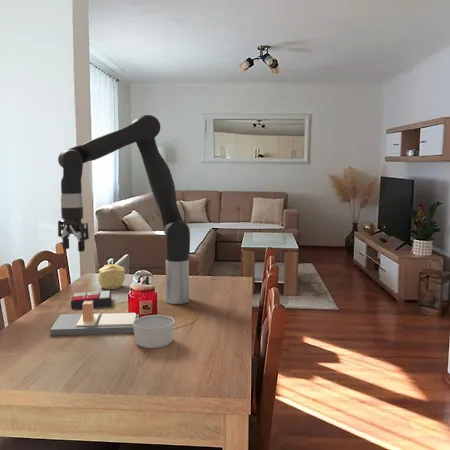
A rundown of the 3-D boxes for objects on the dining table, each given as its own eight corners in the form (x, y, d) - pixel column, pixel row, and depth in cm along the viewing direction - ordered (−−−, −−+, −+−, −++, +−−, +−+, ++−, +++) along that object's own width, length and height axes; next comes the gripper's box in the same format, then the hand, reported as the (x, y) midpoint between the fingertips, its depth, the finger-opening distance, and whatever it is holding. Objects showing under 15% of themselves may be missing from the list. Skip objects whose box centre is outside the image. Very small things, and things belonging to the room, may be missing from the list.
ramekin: (140, 353, 153) (140, 330, 152) (127, 339, 165) (127, 318, 164) (181, 345, 159) (181, 324, 158) (166, 332, 171) (165, 312, 170)
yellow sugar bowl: (100, 292, 220) (100, 267, 219) (96, 285, 231) (95, 262, 230) (127, 289, 225) (126, 265, 223) (121, 283, 235) (121, 260, 234)
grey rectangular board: (139, 317, 186) (139, 311, 186) (136, 332, 170) (136, 325, 170) (60, 319, 183) (60, 313, 183) (50, 335, 167) (50, 328, 167)
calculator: (73, 292, 207) (110, 289, 210) (73, 302, 207) (111, 299, 210) (70, 300, 196) (110, 296, 199) (71, 310, 197) (111, 306, 200)
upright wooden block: (99, 314, 182) (99, 297, 181) (94, 325, 170) (94, 307, 170) (82, 315, 182) (81, 297, 181) (76, 326, 170) (75, 307, 169)
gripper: (93, 206, 182) (94, 250, 185) (68, 203, 191) (69, 246, 193) (76, 207, 176) (77, 254, 178) (50, 205, 184) (52, 249, 187)
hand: (73, 250), depth 186 cm, fingers open, 8 cm apart
